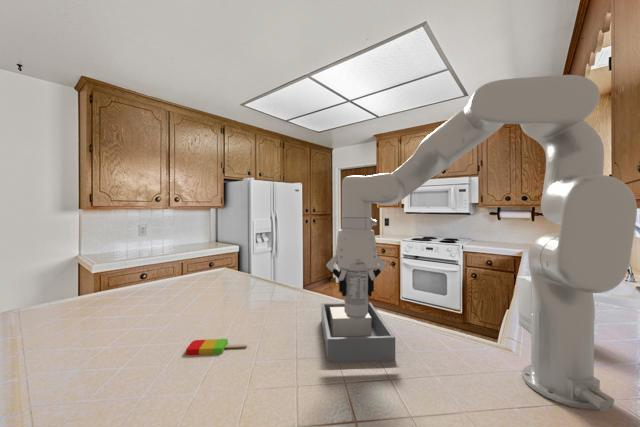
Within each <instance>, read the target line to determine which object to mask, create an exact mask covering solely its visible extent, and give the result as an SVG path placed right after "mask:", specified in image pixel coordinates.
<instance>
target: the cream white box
mask: <svg viewBox="0 0 640 427" xmlns="http://www.w3.org/2000/svg"><path fill="white" fill-rule="evenodd" d="M330 326H331V331H332V335H333V336H365V335H371V316H370V315H369V313H368V314H367V315H366V317H365V318H363V319H351V318H349V317H347V314H346V313H345V311H344V307H330Z"/></svg>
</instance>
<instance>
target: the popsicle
mask: <svg viewBox="0 0 640 427" xmlns="http://www.w3.org/2000/svg"><path fill="white" fill-rule="evenodd" d="M228 341H229V340H228V338H217V339H216V338H215V339H214V338H213V339H211V338H210V339H194V340H193V341H191V343H190V344H189V345H188V346H187V347H186V350H185V351H186V352H185V354H186V356H200V355H201V356H202V355H203V356H204V355H205V356H207V355H221V354H223V353H224V351H225V349H234V348H235V349H236V348H238V349H239V348H247V347H248V344H247V343H245V344H229V345H228V343H229V342H228Z"/></svg>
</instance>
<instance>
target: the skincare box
mask: <svg viewBox="0 0 640 427" xmlns="http://www.w3.org/2000/svg"><path fill="white" fill-rule="evenodd" d="M516 278H517V279H516V280H517V281H516V282H517V308H518V324H519V325H520V326H521V327H523V328H524V329H526V330H527V331H528V332H529V333H531V331H532V285H531V276H530V275H529V276H528V275H518V276H516Z"/></svg>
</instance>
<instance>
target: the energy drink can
mask: <svg viewBox="0 0 640 427" xmlns="http://www.w3.org/2000/svg"><path fill="white" fill-rule="evenodd" d="M360 260H361V259H356V261H355V262H353V263H352V264H351V265H350V266H349V269H348V270H347V272H346V274H345V277H344V278H345V281H346V296H344V303H345V307H344V311H345V313H346V314H347V317H349V318H351V319H363V318H365V317H366V315H367V314H368V303H369V295H368V269H367V266H366V264H364V263H363V262H362V261H360Z"/></svg>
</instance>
